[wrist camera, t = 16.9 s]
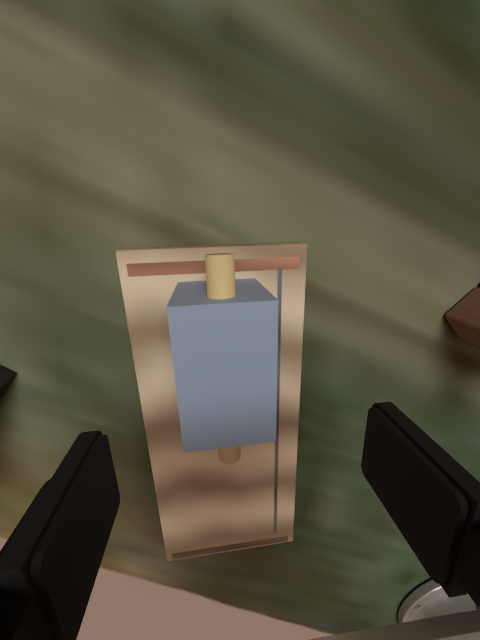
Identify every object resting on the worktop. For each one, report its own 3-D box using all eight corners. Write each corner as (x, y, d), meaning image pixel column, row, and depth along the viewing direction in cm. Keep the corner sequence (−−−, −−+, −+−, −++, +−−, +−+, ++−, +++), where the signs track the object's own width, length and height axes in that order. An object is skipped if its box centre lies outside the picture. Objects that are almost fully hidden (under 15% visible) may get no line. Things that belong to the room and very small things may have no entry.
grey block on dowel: (256, 406, 21) (275, 469, 16) (191, 412, 21) (187, 481, 15) (254, 246, 18) (279, 255, 12) (174, 249, 17) (160, 260, 11)
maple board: (286, 520, 29) (292, 541, 27) (169, 538, 27) (167, 561, 25) (297, 242, 20) (307, 243, 18) (124, 248, 18) (115, 250, 17)
